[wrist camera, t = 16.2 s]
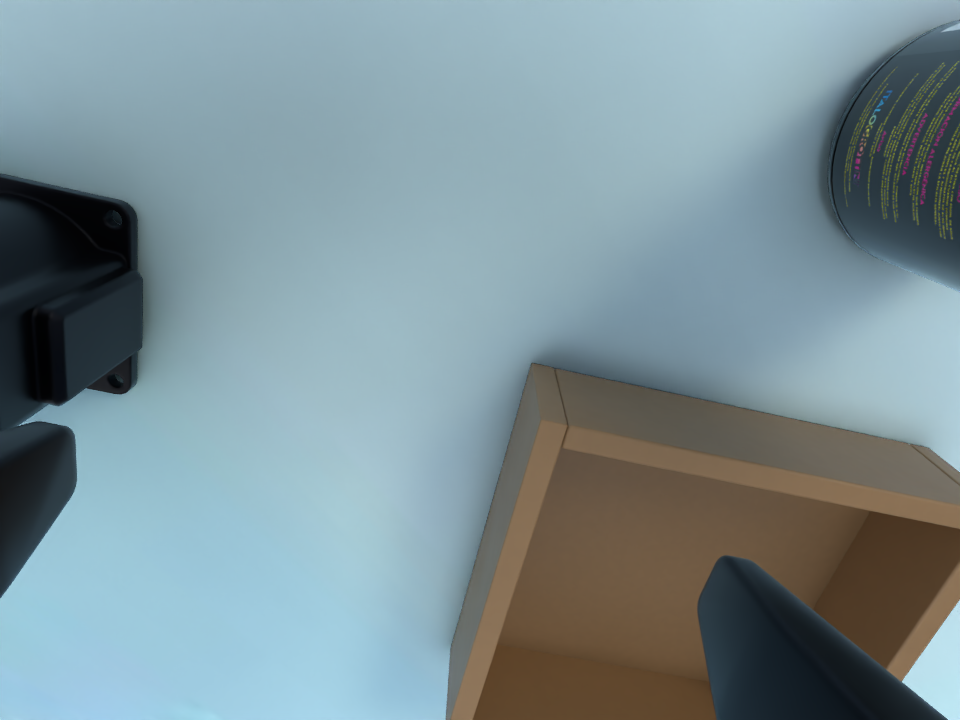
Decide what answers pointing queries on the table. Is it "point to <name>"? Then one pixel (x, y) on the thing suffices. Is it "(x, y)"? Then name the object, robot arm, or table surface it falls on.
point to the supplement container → (904, 159)
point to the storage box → (685, 547)
